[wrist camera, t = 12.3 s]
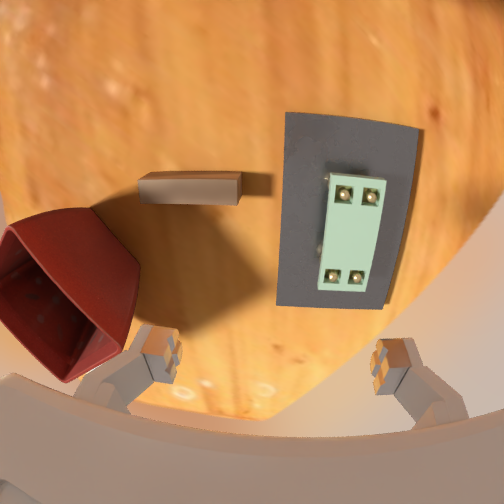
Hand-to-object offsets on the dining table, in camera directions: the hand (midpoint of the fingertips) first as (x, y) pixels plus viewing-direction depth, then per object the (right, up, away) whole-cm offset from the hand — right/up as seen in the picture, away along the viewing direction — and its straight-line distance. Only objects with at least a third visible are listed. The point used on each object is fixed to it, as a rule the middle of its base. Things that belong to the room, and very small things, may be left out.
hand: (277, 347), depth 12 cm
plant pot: (-26, +3, +33) cm, 42 cm away
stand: (-8, +12, +26) cm, 30 cm away
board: (+10, +6, +22) cm, 25 cm away
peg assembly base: (+11, +8, +26) cm, 29 cm away
